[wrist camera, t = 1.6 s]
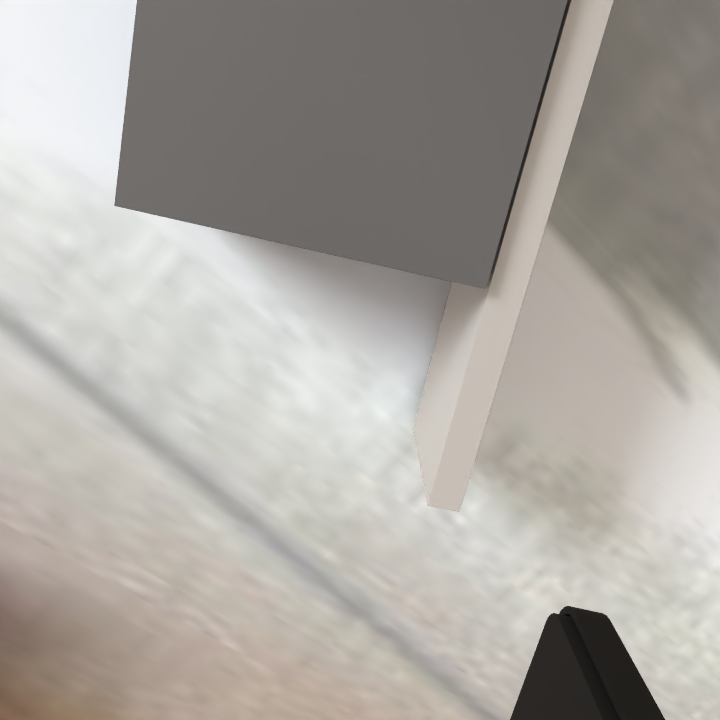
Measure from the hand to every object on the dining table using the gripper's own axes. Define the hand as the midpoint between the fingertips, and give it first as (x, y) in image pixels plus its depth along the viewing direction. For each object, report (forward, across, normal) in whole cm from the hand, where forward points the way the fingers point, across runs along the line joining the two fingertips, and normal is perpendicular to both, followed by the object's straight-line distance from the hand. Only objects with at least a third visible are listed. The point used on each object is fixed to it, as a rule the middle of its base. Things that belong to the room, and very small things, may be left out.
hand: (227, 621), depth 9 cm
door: (+20, -6, -9) cm, 23 cm away
